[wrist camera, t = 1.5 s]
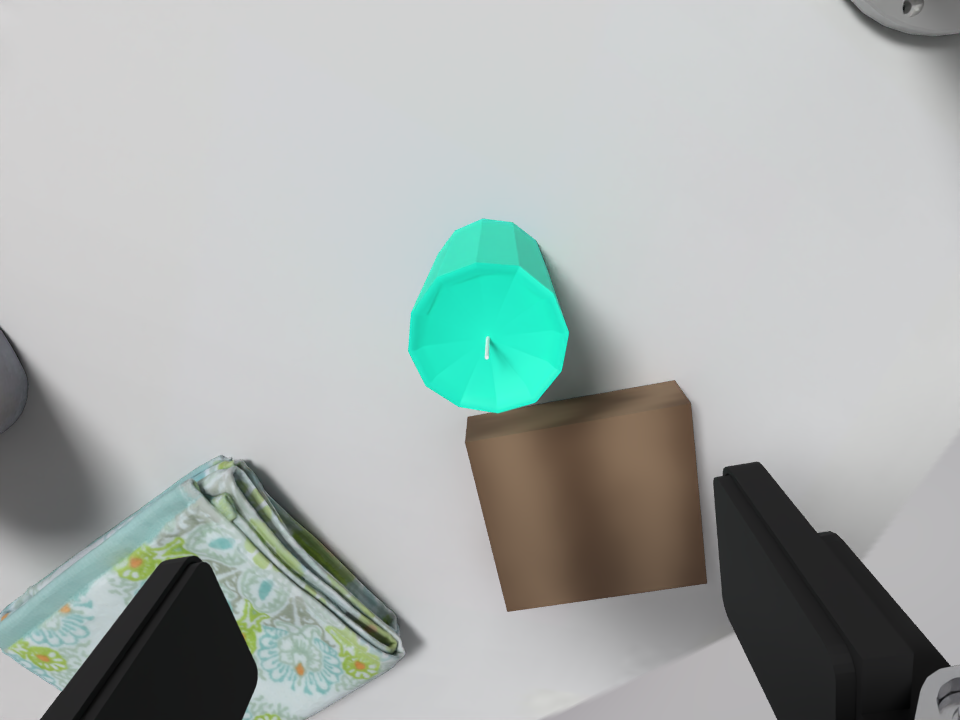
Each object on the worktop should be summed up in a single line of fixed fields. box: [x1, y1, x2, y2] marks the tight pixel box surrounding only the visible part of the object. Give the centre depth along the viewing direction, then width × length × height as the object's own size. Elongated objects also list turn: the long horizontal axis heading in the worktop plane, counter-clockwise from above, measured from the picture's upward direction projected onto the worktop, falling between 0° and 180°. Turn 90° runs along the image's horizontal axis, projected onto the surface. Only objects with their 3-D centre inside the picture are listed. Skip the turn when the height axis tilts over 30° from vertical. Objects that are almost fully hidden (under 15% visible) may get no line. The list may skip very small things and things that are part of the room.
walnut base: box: [465, 380, 707, 612], centre depth 35 cm, size 12×12×3 cm
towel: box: [0, 455, 406, 720], centre depth 39 cm, size 18×21×5 cm
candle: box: [408, 219, 569, 413], centre depth 26 cm, size 6×6×12 cm
